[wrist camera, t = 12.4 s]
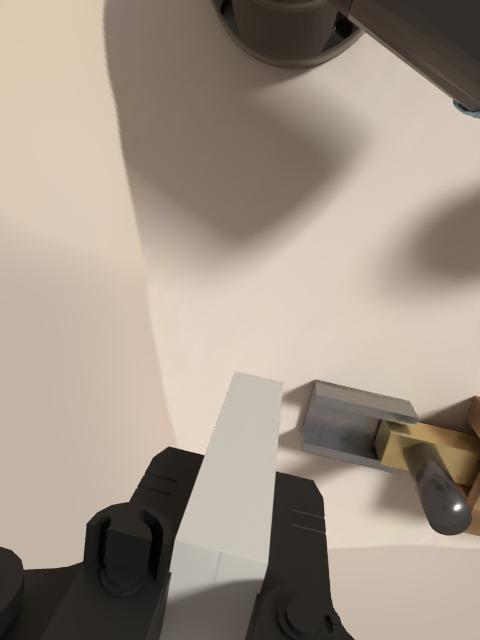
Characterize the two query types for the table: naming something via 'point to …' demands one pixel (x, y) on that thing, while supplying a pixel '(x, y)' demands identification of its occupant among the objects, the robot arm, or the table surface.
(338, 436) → the channel
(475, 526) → the socket
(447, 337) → the table surface
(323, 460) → the table surface
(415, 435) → the brass block with handle
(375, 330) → the table surface
